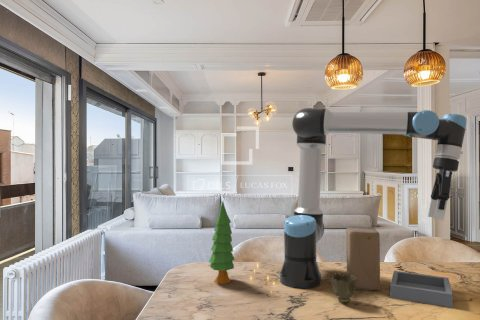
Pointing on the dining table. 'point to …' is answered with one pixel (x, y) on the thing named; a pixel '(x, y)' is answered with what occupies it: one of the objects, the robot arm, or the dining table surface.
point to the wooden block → (364, 257)
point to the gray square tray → (421, 288)
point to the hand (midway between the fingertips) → (435, 218)
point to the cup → (344, 286)
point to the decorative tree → (222, 247)
